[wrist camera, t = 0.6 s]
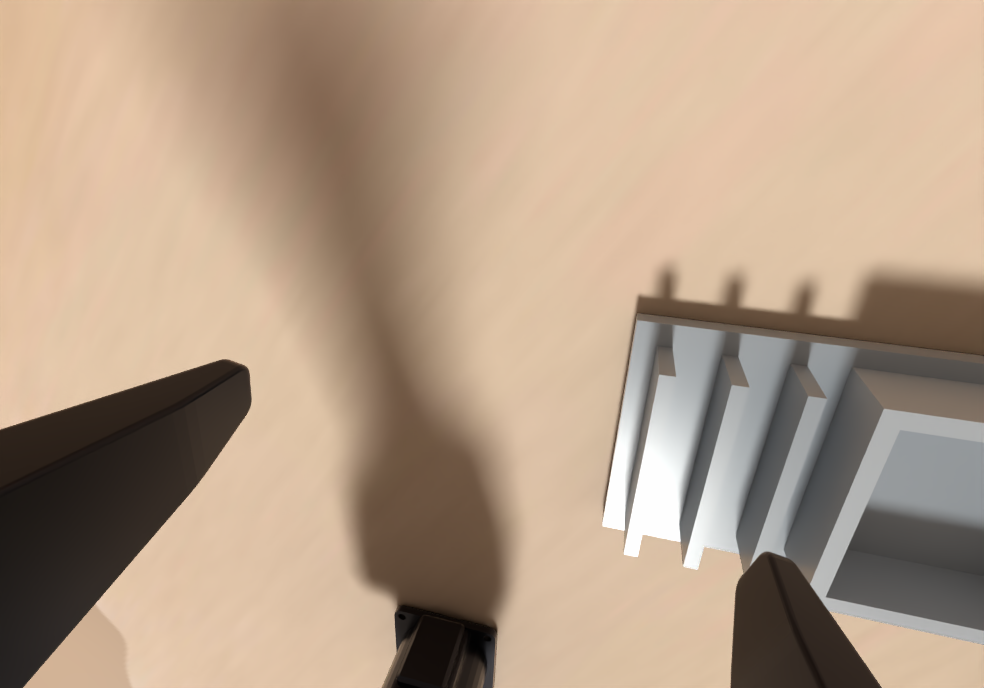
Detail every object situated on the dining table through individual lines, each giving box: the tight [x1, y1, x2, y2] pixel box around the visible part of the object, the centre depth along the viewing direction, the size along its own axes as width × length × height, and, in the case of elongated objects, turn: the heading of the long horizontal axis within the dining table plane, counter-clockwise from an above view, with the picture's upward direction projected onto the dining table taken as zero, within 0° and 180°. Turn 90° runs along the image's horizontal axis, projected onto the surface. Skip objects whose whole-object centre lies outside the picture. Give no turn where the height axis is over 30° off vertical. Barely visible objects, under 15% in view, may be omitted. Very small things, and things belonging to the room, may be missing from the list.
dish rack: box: [602, 313, 984, 645], centre depth 21 cm, size 11×18×4 cm, turn 88°
